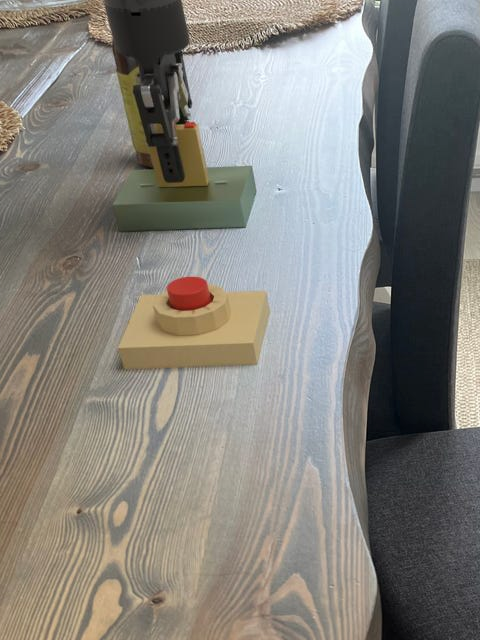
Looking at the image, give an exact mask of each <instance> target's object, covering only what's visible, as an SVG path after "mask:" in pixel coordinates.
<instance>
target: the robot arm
mask: <svg viewBox="0 0 480 640" xmlns="http://www.w3.org/2000/svg"><path fill="white" fill-rule="evenodd" d="M102 1H103V5H104V10H105V13H106V17H107V20H108V21H107V22H108V25H109V29H110V33H111V37H112V42H113V41H114V45H115V48H116V50H117V51H118V52H119V53H120V54H122V55H124V56H131V57H133V58H135V59H136V60H137V61H138V63H139V65H138V67H139V73H137V84H138V85H134V86H133V94H134V96H135V100H136V104H137V107H138V111H139V115H140V118H141V122H142V126H143V129H144V133H145V137H146V142H147V144H148V146H149V147H156V149H157V153H158V157H159V161H160V165H161V169H162V174H163V178H164V180H165V181H166V182H167V183H178V182H183V181H184V179H185V173H184V168H183V164H182V159H181V155H180V150H179V146H178V138H177V132H176V125H179V124H186V122H190V121H191V116H192V113H191V110H190V109H192V107H193V100H192V98H191V97H192V96H191V92H190V87H189V82H188V76H187V70H186V66H185V60H184V52H183V51H184V50H185V49H186V48H188V46H189V44H190V35H189V30H188V25H187V20H186V14H185V10H184V5H183V0H102ZM157 124H161V125H162V128H163V132H164V133H158V128H157Z"/></svg>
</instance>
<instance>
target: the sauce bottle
mask: <svg viewBox="0 0 480 640" xmlns="http://www.w3.org/2000/svg"><path fill="white" fill-rule="evenodd" d="M111 45H112V46H111V49H112V55H113V59H114V62H115V66H116V70H115V71H116V76H117V80H118V85H119V88H120V94H121V97H122V101H123V106H124V112H125V115H126V119H127V124H128V129H129V133H130V138H131V143H132V147H133V149H134V151H135V155H136V160H137V162H138V163H139V164H140V166H143V167H148V168H150V169H154V167H153V163H152V159H151V155H150V151H149V147H148V144H147V142H146V137H145V133H144V129H143V126H142V122H141V118H140V115H139V111H138V107H137V104H136V100H135V96H134V94H133V86H134V85H138V84H137V73H139V67H138V65H139V63H138V61H137V60H136V59H135V58H133V57H131V56H124V55H122V54H120V53H119V52H118V51H117V50H116V48H115V45H114V41H113V40H112V43H111ZM157 125H161V124H157Z"/></svg>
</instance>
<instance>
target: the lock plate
mask: <svg viewBox="0 0 480 640" xmlns="http://www.w3.org/2000/svg"><path fill="white" fill-rule="evenodd" d="M207 170H208V175H209V183H208V185H207V186H184V187H158V184H157V180H156V176H155V171H154V168H150V169H149V168H148V169H131V170H130V172H129V174H128V176H127V177H126V179H125V181H124V183H123V184H122V186H121V187H120V190H119V192H118V193H117V195H116V196H115V199H114V201H113V203H112V206H111V207H112V209H113V213H114V216H115V220H116V224H117V227H118V231H119V232H121V233H122V232H147V231H176V230H178V231H179V230H205V229H232V228H246V226H247V224H248V221H249V218H250V214H251V211H252V207H253V204H254V201H255V198H256V195H257V186H256V180H255V174H254V168H253V166H252V165H233V166H230V165H229V166H207Z"/></svg>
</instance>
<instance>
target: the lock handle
mask: <svg viewBox="0 0 480 640" xmlns="http://www.w3.org/2000/svg"><path fill="white" fill-rule="evenodd" d="M157 128H158V133H164V132H163V128H162V125H157ZM176 132H177V138H178V146H179V150H180V155H181V159H182V164H183V168H184V173H185V179H184V181H183V182H178V183H167V182H166V181H165V180H164V178H163V174H162V169H161V165H160V161H159V157H158V153H157V149H156V147H149V146H148V147H149V151H150V155H151V159H152V163H153V167H154V168H153V169H154V171H155V176H156V180H157V184H158V187H184V186H207V185H208V183H209V175H208V170H207V167H208V166H207V161H206V157H205V151H204V147H203V143H202V137H201V132H200V127H199V124H198V123H197V122H196V121H189V122H186V124H179V125H176Z"/></svg>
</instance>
